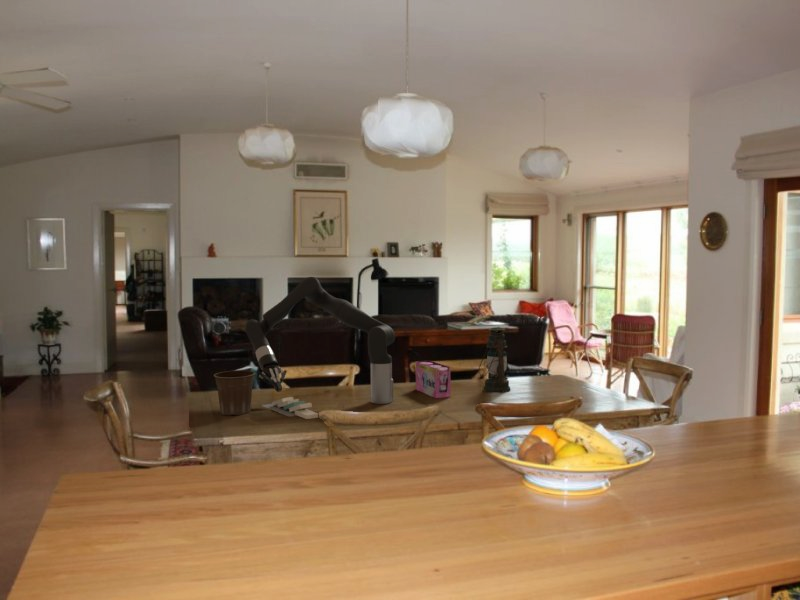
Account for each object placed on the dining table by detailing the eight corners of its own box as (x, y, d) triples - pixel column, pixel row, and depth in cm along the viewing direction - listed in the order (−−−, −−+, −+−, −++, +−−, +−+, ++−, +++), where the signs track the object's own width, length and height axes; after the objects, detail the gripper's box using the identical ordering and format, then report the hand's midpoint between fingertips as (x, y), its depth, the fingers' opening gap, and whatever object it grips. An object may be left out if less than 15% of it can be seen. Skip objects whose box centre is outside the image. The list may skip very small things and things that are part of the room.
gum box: (452, 397, 306) (452, 367, 305) (436, 399, 303) (436, 368, 302) (430, 388, 328) (430, 360, 327) (415, 389, 325) (415, 361, 324)
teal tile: (283, 406, 282) (293, 402, 274) (294, 404, 285) (304, 400, 277) (283, 410, 282) (294, 406, 274) (294, 408, 285) (305, 404, 277)
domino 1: (272, 402, 290) (282, 398, 282) (282, 400, 293) (293, 396, 285) (272, 405, 290) (282, 402, 282) (283, 404, 293) (293, 400, 285)
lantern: (515, 393, 313) (516, 328, 311) (485, 394, 311) (485, 329, 310) (504, 385, 332) (504, 324, 330) (475, 386, 331) (475, 324, 329)
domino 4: (294, 410, 274) (306, 415, 266) (305, 408, 277) (318, 413, 269) (294, 414, 274) (306, 419, 266) (305, 412, 277) (318, 417, 269)
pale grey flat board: (260, 406, 291) (260, 405, 291) (286, 402, 298) (286, 401, 298) (289, 417, 270) (289, 416, 270) (315, 413, 277) (315, 412, 277)
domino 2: (277, 404, 286) (287, 400, 278) (288, 402, 289) (298, 398, 281) (277, 407, 286) (288, 404, 278) (288, 406, 289) (299, 402, 281)
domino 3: (288, 408, 278) (300, 404, 270) (299, 406, 281) (311, 402, 273) (289, 412, 277) (300, 408, 270) (300, 410, 280) (311, 406, 273)
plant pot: (235, 419, 269) (234, 378, 268) (206, 414, 277) (205, 374, 276) (264, 411, 282) (263, 372, 281) (235, 406, 291) (234, 369, 290)
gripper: (277, 362, 305) (291, 394, 296) (249, 365, 297) (262, 398, 288) (282, 351, 300) (296, 383, 291) (254, 354, 292) (268, 387, 283)
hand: (279, 390), depth 289 cm, fingers closed
